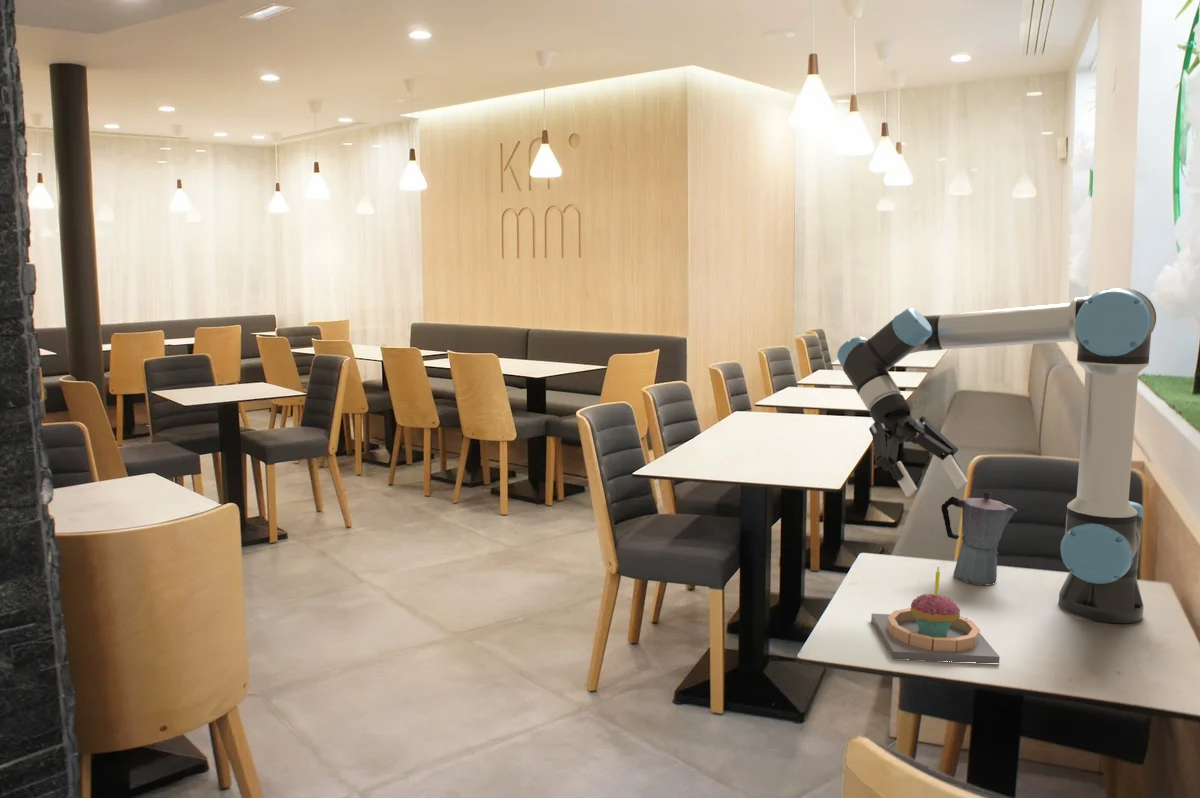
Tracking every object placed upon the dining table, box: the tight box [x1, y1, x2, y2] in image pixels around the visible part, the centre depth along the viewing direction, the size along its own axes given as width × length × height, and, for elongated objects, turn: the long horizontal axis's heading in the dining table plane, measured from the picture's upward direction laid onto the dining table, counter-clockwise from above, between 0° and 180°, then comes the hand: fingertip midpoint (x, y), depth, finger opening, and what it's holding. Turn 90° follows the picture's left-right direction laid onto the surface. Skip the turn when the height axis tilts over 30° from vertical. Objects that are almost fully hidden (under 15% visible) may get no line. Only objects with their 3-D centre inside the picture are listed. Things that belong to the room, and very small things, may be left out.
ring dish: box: [870, 607, 1001, 664], centre depth 173 cm, size 18×18×4 cm
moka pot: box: [940, 491, 1018, 586], centre depth 207 cm, size 10×15×20 cm, turn 78°
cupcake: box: [910, 566, 961, 637], centre depth 172 cm, size 9×8×12 cm
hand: (938, 489), depth 183 cm, fingers open, 13 cm apart
